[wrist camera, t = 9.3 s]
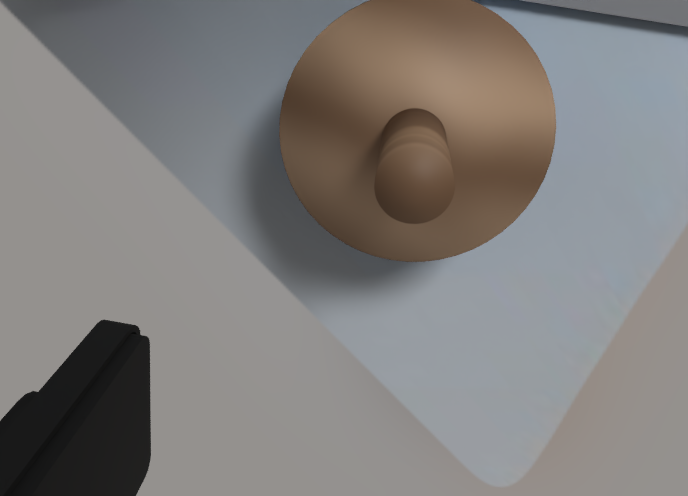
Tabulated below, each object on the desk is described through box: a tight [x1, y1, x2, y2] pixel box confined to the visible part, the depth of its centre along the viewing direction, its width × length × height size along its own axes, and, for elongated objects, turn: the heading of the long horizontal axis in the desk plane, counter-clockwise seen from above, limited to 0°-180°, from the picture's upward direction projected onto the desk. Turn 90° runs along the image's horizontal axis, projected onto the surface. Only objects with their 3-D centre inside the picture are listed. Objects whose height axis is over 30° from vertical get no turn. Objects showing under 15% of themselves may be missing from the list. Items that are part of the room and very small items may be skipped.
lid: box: [279, 0, 556, 262], centre depth 24 cm, size 12×12×7 cm
